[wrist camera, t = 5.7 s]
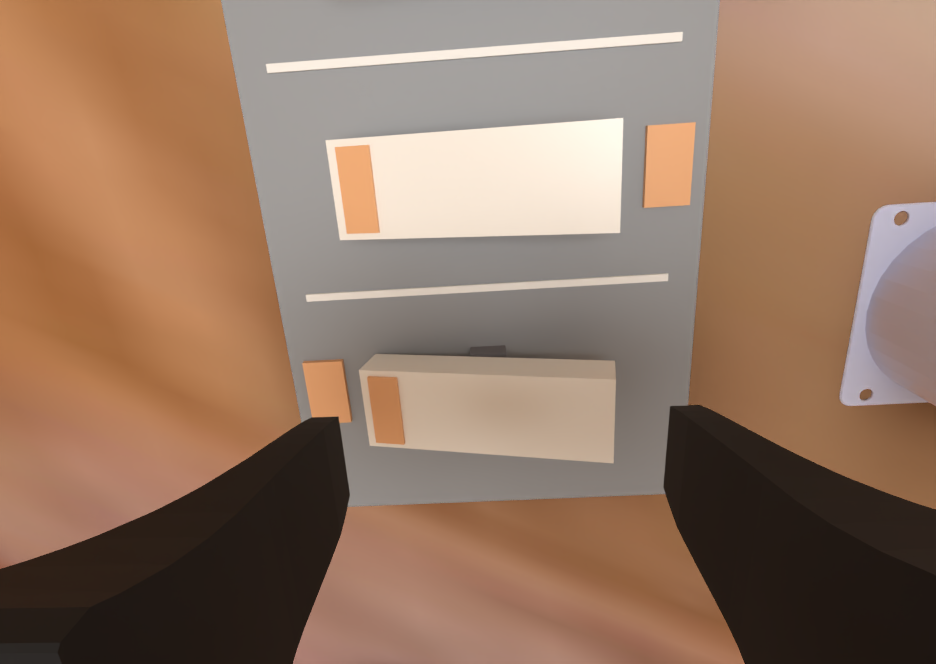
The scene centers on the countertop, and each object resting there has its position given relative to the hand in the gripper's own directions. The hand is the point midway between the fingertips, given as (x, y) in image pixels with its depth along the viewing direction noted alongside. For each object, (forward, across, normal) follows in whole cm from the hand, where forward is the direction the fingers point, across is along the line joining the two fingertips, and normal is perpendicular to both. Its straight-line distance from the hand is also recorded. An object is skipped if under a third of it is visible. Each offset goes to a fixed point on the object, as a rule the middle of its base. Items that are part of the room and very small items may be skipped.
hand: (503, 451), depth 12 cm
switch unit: (+10, 0, -5) cm, 11 cm away
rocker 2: (+6, 0, +2) cm, 6 cm away
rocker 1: (+6, 0, -5) cm, 8 cm away
